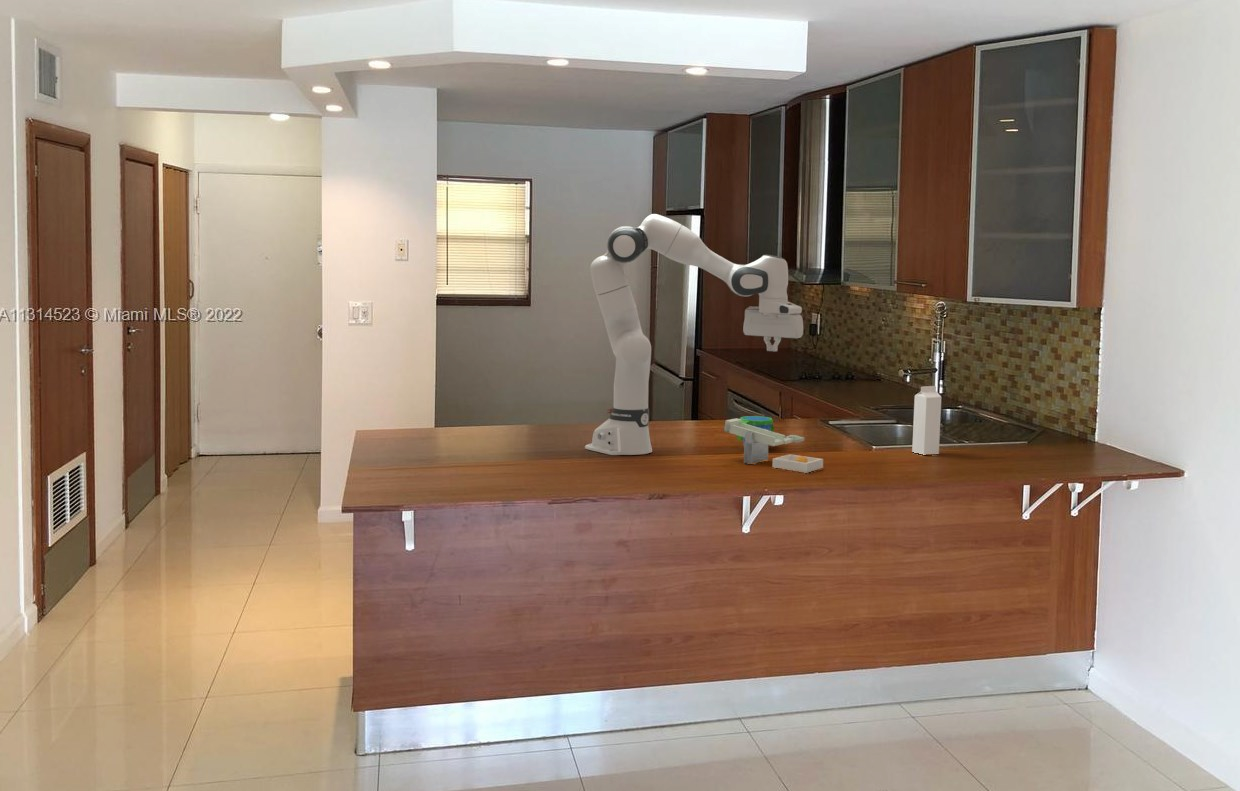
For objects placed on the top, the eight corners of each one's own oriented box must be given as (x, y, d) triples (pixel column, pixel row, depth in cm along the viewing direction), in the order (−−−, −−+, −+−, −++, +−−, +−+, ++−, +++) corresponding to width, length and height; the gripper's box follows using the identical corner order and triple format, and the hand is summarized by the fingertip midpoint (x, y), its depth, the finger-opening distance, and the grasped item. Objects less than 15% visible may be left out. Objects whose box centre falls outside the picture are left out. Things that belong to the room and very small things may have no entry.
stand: (743, 463, 335) (744, 432, 333) (759, 459, 342) (760, 428, 340) (752, 465, 333) (752, 433, 332) (767, 460, 340) (768, 429, 338)
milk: (938, 455, 352) (942, 387, 349) (923, 456, 350) (927, 387, 347) (926, 451, 358) (930, 384, 355) (911, 453, 355) (915, 385, 352)
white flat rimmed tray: (772, 468, 328) (772, 458, 328) (789, 463, 335) (789, 454, 335) (806, 473, 321) (806, 463, 320) (822, 468, 328) (823, 459, 328)
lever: (724, 431, 340) (725, 420, 339) (751, 425, 352) (753, 414, 351) (777, 447, 328) (779, 436, 327) (803, 440, 340) (805, 430, 339)
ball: (792, 466, 327) (794, 455, 326) (798, 465, 330) (800, 453, 329) (802, 470, 325) (804, 458, 324) (808, 468, 328) (810, 457, 327)
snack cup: (762, 444, 369) (763, 414, 368) (784, 448, 361) (785, 418, 359) (726, 448, 361) (727, 417, 359) (747, 453, 352) (748, 422, 351)
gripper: (739, 306, 348) (738, 349, 350) (796, 308, 335) (794, 353, 337) (750, 305, 353) (749, 348, 355) (806, 308, 340) (805, 352, 342)
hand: (772, 351), depth 346 cm, fingers closed
